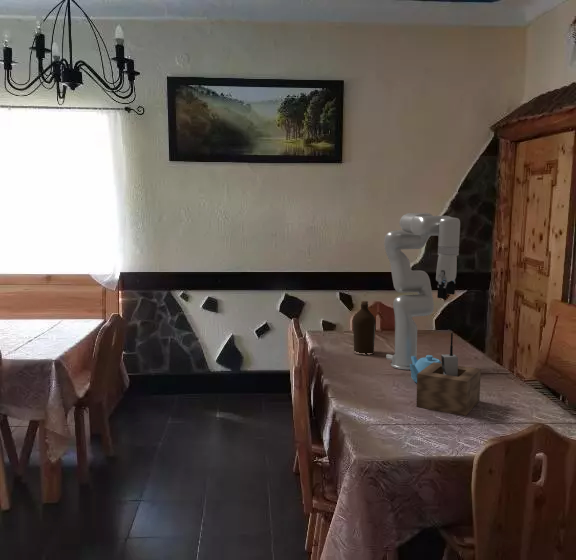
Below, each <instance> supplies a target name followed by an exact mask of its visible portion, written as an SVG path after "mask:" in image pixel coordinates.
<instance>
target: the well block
mask: <svg viewBox="0 0 576 560" xmlns="http://www.w3.org/2000/svg"><path fill="white" fill-rule="evenodd" d="M481 373H482V369H481V368H476V367H470V366H462V365H458V376H450V375H444V374H443V369H442V362H441V363H435V362H433V363H432V364H430V365H429V366H428V367H426V368H425V369H423V370H422V371H421V372H419V373H418V374H417V383H416V406H417V408H423V409H428V410H433V411H438V412H442V413H449V414H455V415H460V416H464V417H466V416H467V415H468V414H469V413H471V411H472V410H473V409H474V408H475V407H476V405H478V403H479V402H480V397H481V377H482V376H481V375H482V374H481Z"/></svg>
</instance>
